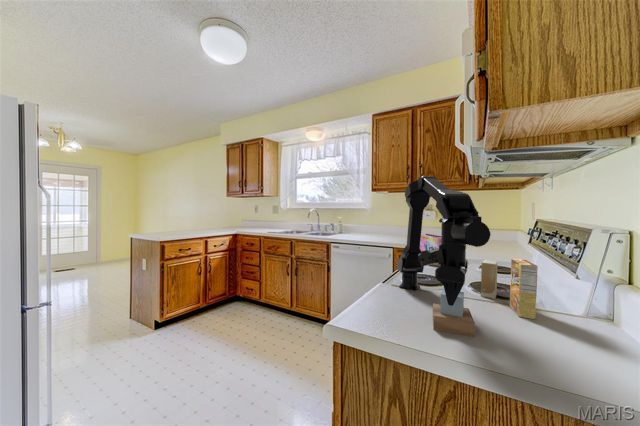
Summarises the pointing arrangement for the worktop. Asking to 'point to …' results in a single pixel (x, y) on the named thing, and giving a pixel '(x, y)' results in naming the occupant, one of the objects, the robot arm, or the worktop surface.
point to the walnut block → (453, 322)
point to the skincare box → (489, 279)
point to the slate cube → (452, 310)
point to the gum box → (430, 242)
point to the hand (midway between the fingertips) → (452, 299)
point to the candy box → (523, 288)
